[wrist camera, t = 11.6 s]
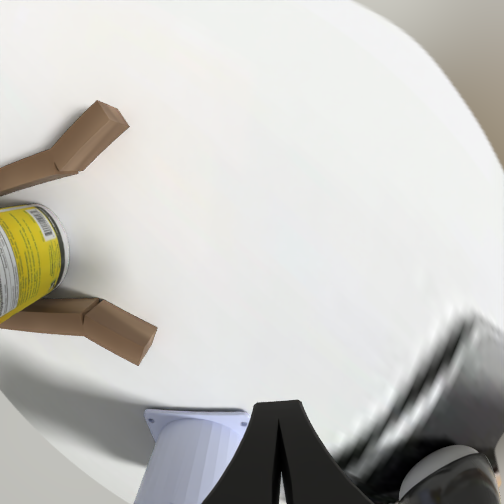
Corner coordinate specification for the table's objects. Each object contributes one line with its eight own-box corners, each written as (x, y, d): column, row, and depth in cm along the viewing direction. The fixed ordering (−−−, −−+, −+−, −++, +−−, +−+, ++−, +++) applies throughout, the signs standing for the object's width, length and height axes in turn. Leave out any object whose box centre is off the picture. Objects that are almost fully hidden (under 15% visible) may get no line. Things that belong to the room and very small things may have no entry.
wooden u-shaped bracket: (161, 345, 18) (149, 366, 16) (9, 334, 19) (-8, 347, 17) (128, 105, 15) (109, 96, 13) (-24, 163, 16) (-45, 164, 13)
